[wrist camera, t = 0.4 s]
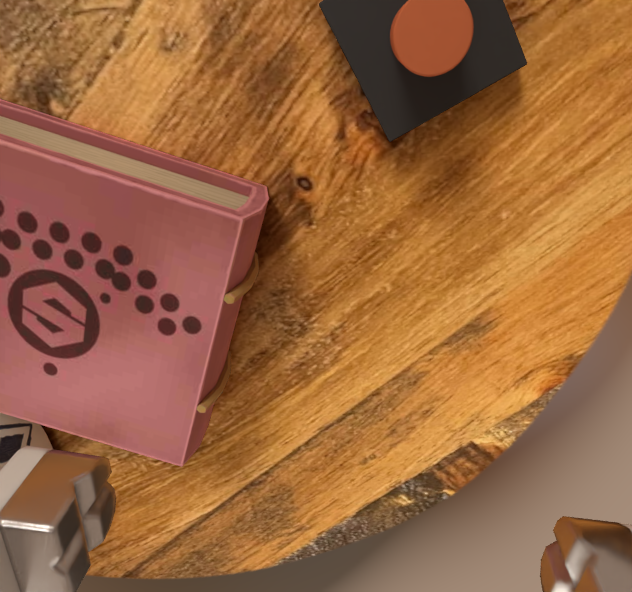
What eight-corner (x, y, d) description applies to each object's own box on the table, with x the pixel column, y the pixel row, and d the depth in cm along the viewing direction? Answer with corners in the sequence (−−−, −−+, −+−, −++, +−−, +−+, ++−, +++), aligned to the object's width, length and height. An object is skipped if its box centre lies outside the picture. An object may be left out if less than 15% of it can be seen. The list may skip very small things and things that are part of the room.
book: (222, 409, 31) (198, 471, 27) (-22, 335, 31) (-88, 386, 26) (283, 191, 25) (264, 225, 20) (-26, 90, 24) (-116, 102, 20)
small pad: (321, 5, 21) (308, -3, 17) (458, -89, 19) (484, -127, 15) (388, 136, 23) (392, 160, 19) (518, 62, 21) (556, 69, 17)
